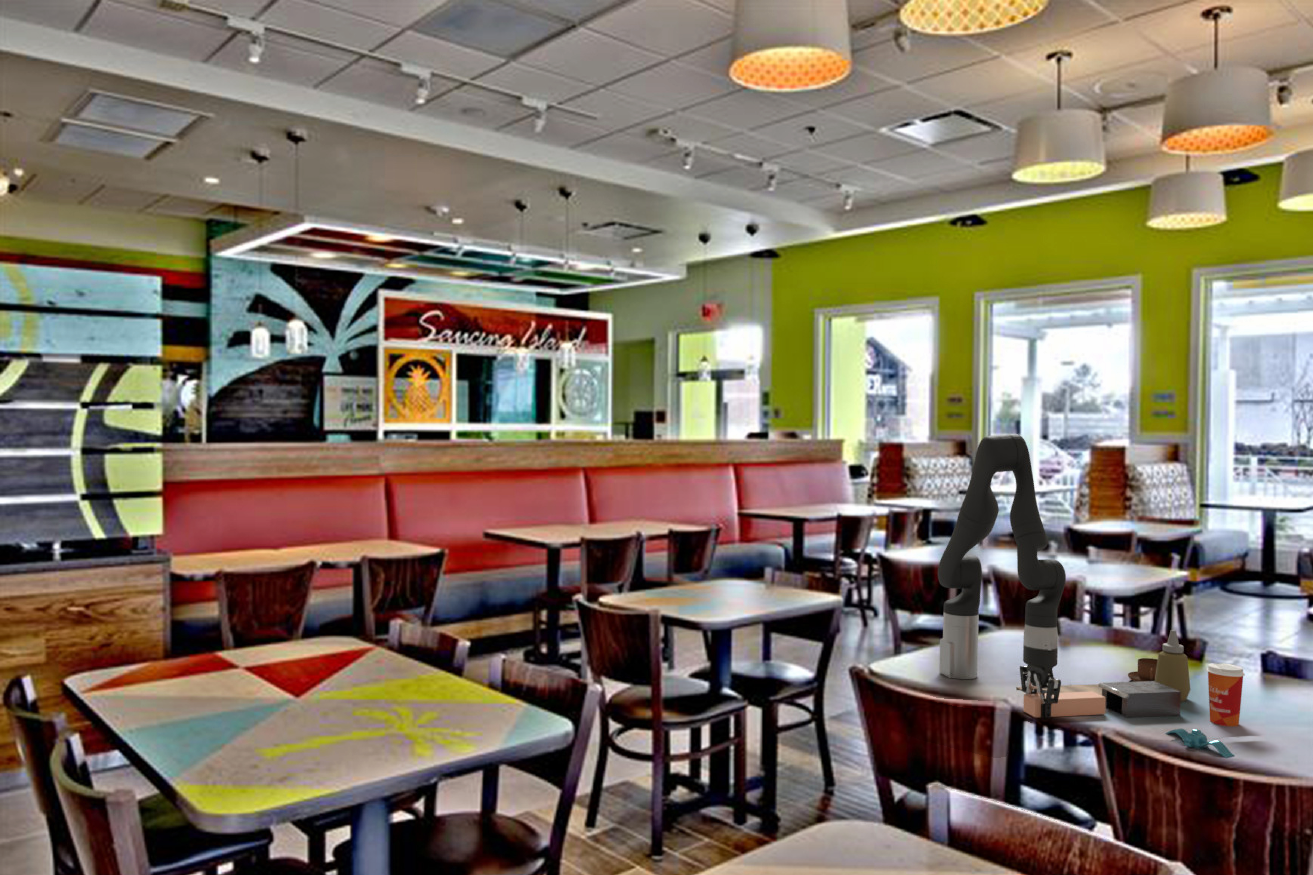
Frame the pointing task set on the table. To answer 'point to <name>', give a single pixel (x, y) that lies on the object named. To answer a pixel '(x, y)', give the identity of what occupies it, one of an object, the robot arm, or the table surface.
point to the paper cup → (1225, 693)
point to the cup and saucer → (1144, 670)
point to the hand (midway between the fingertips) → (1038, 715)
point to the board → (1076, 688)
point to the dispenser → (1141, 699)
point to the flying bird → (1201, 741)
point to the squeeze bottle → (1173, 666)
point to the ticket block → (1067, 704)
